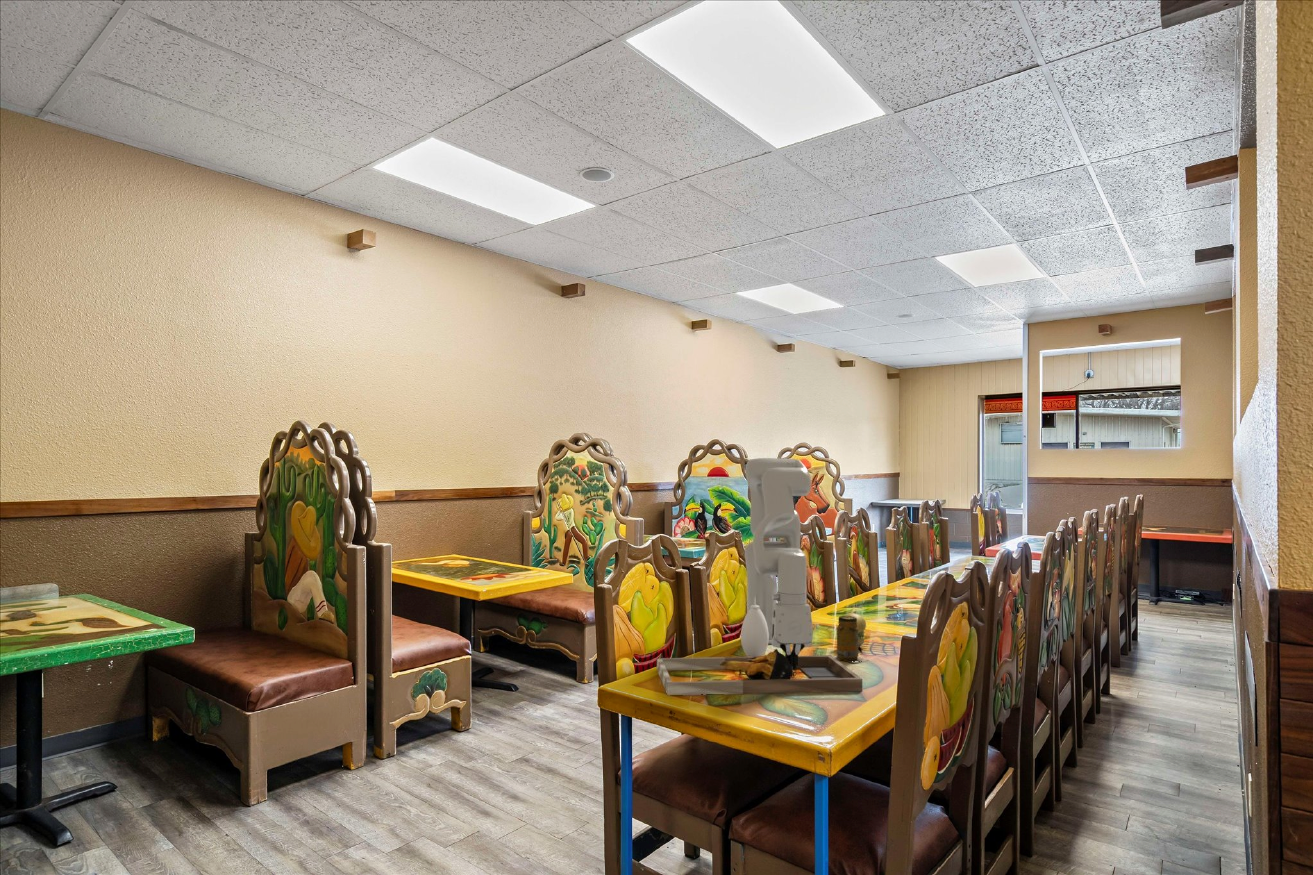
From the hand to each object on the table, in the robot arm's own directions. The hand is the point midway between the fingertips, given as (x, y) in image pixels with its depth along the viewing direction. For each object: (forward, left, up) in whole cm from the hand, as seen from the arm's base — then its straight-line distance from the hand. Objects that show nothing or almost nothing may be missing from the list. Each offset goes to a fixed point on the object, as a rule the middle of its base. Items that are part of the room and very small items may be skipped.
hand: (791, 668), depth 190 cm
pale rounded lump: (-30, +29, -3) cm, 42 cm away
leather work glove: (0, -9, -3) cm, 10 cm away
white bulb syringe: (-20, -5, -3) cm, 21 cm away
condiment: (-18, +23, -3) cm, 30 cm away
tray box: (0, -10, -3) cm, 10 cm away
